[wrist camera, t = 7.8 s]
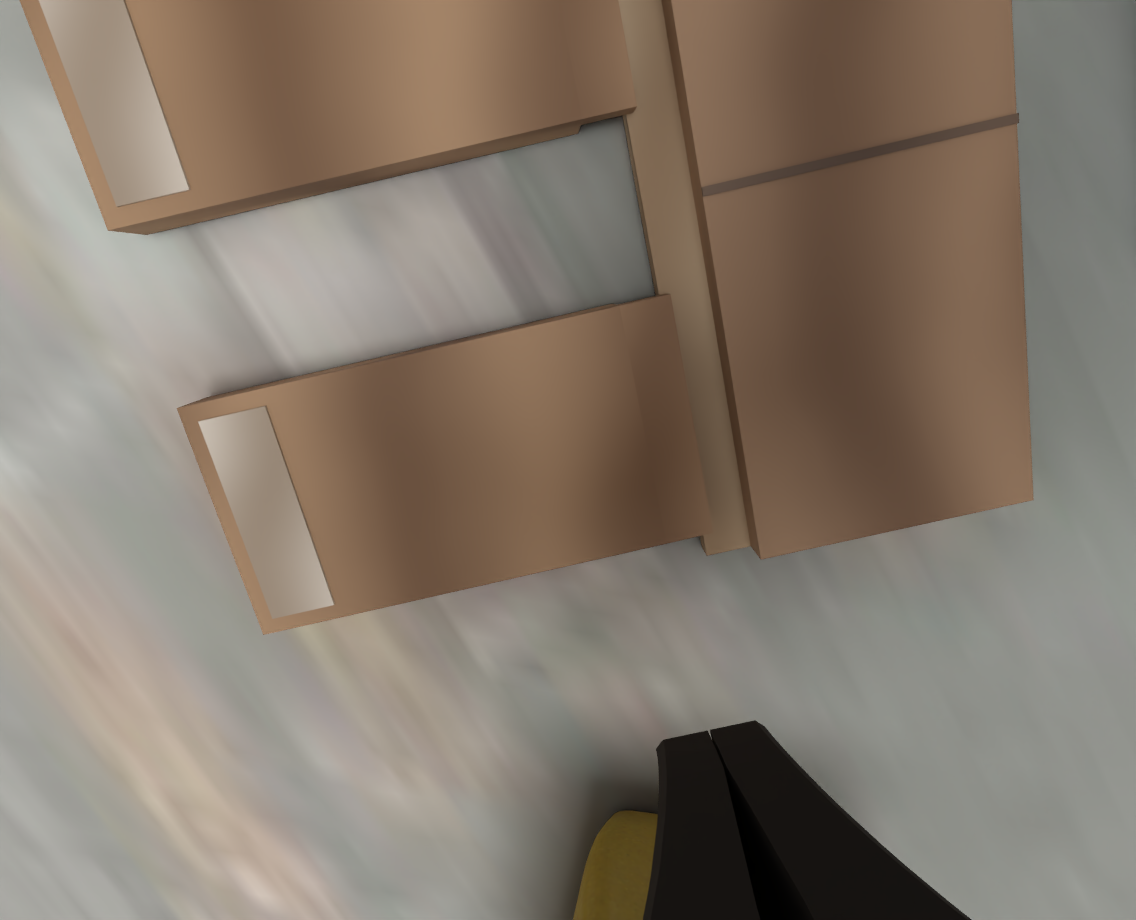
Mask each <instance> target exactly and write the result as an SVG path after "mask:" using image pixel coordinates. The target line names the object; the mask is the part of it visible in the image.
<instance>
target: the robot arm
mask: <svg viewBox="0 0 1136 920" xmlns="http://www.w3.org/2000/svg"><path fill="white" fill-rule="evenodd" d="M710 732H711V737H712V740H711V737H710V735H709V733H708V731H703V732H698V733H694V734H689V735H684V736H680V737H675V738H670V739H665V740H663V741H662V742H661V743H660V745H659V746H658V747H657V749H656V751H657V757H658V766H659V802H658V817H657V829H656V837H655V845H654V853H653V861H652V869H651V877H650V883H649V889H648V895H647V900H646V905H645V910H644V915H643V920H971V919H970V918H969V917H967V916H966V915H965V914H964V913H962V912H961V911H960V910H959V909H957V908H956V907H955V906H954V905H952V904H951V903H950V902H949V901H947V900H946V899H945V898H944V897H942V896H941V895H940V894H939V893H938V892H936V891H935V890H934V889H933V888H932V887H930V886H929V885H928V884H927V883H926V882H924V881H923V880H922V879H921V878H920V877H918V876H917V875H916V874H915V873H914V872H912V871H911V870H910V869H909V868H908V867H907V866H905V865H904V864H903V863H902V862H901V861H900V860H898V859H897V858H896V857H895V856H894V855H893V854H892V853H890V852H889V851H888V850H887V849H886V848H885V847H884V846H882V845H881V844H880V843H879V842H878V841H877V840H876V839H875V838H874V837H873V836H872V835H870V834H869V833H868V832H867V831H866V830H865V829H864V828H863V827H862V826H861V825H860V824H859V823H857V822H856V821H855V820H854V819H853V818H852V817H851V816H850V815H849V814H848V813H847V812H846V811H845V810H843V809H842V808H841V807H840V806H839V805H838V804H837V803H836V802H835V801H834V800H833V799H832V798H831V797H830V796H829V795H828V794H827V793H826V792H825V791H824V790H823V789H822V788H821V787H820V786H819V785H818V784H817V783H816V782H815V781H814V780H813V779H812V778H811V777H810V776H809V775H808V774H807V773H806V772H805V771H804V770H803V769H802V768H801V767H800V766H799V765H798V764H797V763H796V762H795V761H794V759H793V758H792V757H791V756H790V755H789V754H788V753H787V752H786V751H785V750H784V749H783V747H782V746H781V745H780V744H779V743H778V742H777V741H776V740H775V738H774V737H773V736H772V735H771V734H770V733H769V731H768V730H767V729H766V728H765V726H763V725H761V724H760V723H758V722H757V721H750V722H746V723H741V724H736V725H731V726H727V727H722V728H717V729H713V730H710Z"/></svg>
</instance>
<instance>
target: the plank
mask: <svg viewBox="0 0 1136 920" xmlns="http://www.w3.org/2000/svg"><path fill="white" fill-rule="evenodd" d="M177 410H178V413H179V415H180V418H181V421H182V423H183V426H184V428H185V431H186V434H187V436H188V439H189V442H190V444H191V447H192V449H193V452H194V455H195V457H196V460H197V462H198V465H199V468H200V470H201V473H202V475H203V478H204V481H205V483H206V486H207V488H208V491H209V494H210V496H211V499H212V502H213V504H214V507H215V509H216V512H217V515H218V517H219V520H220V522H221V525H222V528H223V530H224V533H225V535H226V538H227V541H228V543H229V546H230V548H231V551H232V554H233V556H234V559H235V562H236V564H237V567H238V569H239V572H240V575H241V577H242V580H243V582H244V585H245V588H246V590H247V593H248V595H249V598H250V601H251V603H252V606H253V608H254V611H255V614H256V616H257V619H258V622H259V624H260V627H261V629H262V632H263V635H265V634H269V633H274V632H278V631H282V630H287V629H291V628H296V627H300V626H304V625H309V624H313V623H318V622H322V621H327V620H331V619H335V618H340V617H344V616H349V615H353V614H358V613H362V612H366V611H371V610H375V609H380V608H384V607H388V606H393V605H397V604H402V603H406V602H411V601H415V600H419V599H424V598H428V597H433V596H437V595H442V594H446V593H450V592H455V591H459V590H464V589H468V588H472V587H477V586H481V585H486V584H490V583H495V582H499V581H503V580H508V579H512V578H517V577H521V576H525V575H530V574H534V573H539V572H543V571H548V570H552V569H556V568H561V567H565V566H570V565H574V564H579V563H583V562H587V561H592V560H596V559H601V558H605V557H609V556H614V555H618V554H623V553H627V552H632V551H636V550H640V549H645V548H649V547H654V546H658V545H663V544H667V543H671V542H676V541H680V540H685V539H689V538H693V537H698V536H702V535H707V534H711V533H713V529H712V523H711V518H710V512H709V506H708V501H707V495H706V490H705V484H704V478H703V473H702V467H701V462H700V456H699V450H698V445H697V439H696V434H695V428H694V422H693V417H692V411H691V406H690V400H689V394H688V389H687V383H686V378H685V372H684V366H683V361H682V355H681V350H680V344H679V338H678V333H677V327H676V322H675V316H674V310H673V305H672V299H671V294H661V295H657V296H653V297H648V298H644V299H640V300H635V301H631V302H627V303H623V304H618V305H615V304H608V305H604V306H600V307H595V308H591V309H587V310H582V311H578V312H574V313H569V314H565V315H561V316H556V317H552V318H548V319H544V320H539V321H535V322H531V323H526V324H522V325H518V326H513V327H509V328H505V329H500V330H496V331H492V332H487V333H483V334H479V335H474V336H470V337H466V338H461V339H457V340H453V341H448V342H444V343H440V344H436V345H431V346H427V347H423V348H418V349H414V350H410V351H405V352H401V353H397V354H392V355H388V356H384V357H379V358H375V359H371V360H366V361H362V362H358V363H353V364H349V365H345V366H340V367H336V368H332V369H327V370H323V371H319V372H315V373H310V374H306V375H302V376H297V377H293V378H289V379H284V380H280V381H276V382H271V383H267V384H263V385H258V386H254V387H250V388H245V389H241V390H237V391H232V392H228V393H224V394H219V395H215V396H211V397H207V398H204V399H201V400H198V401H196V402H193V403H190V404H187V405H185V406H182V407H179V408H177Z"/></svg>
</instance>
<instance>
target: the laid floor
mask: <svg viewBox="0 0 1136 920" xmlns="http://www.w3.org/2000/svg"><path fill="white" fill-rule="evenodd" d="M618 1H619V7H620V13H621V18H622V24H623V29H624V35H625V41H626V46H627V52H628V57H629V63H630V69H631V74H632V80H633V85H634V91H635V97H636V102H637V107H636V109H635V111H634V112H633V113H630V114H626V115H622V116H623V122H624V127H625V132H626V138H627V143H628V149H629V154H630V160H631V165H632V170H633V176H634V181H635V187H636V192H637V198H638V203H639V208H640V214H641V219H642V225H643V230H644V236H645V241H646V246H647V252H648V257H649V263H650V268H651V273H652V279H653V284H654V290H655V295H656V296H657V295H661V294H671V299H672V305H673V310H674V316H675V322H676V327H677V333H678V338H679V344H680V350H681V355H682V361H683V366H684V372H685V378H686V383H687V389H688V394H689V400H690V406H691V411H692V417H693V422H694V428H695V434H696V439H697V445H698V450H699V456H700V462H701V467H702V473H703V478H704V484H705V490H706V495H707V501H708V506H709V512H710V518H711V523H712V529H713V533H711V534H707V535H702V536H700V539H701V545H702V548H703V550H704V552H705V553H706V555H707V556H708V555H712V554H717V553H722V552H726V551H731V550H735V549H740V548H744V547H749V546H751V547H752V548H753V550H754V551H755V552H756V554H757V555H758V556H759V558H760V559H766V558H770V557H775V556H780V555H784V554H789V553H793V552H798V551H802V550H807V549H812V548H816V547H821V546H825V545H830V544H834V543H839V542H844V541H848V540H853V539H857V538H862V537H866V536H871V535H876V534H880V533H885V532H889V531H894V530H898V529H903V528H908V527H912V526H917V525H921V524H926V523H930V522H935V521H940V520H944V519H949V518H953V517H958V516H963V515H967V514H972V513H976V512H981V511H985V510H990V509H995V508H999V507H1004V506H1008V505H1013V504H1017V503H1022V502H1027V501H1031V500H1033V480H1032V457H1031V434H1030V412H1029V389H1028V366H1027V343H1026V320H1025V297H1024V274H1023V252H1022V229H1021V206H1020V183H1019V160H1018V137H1017V123H1019V113H1016V91H1015V69H1014V46H1013V23H1012V0H618Z"/></svg>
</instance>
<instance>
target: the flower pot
mask: <svg viewBox="0 0 1136 920" xmlns="http://www.w3.org/2000/svg"><path fill="white" fill-rule="evenodd" d="M657 817H658V814H654V813H646V812H639V811H619V812H617V813H615V814H613V816H612V817H611V818H610V819H609V820H608V821H607V822H606V823H605V825H604V826H603V827H602V829H601V830H600V831H599V833H598V835H597V836H596V838H595V840H594V842H593V845H592V847H591V850H590V852H589V855H588V859H587V862H586V865H585V869H584V873H583V877H582V881H581V886H580V890H579V895H578V900H577V904H576V908H575V913H574V917H573V920H643V915H644V910H645V905H646V900H647V895H648V889H649V883H650V877H651V869H652V861H653V853H654V845H655V837H656V829H657Z"/></svg>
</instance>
